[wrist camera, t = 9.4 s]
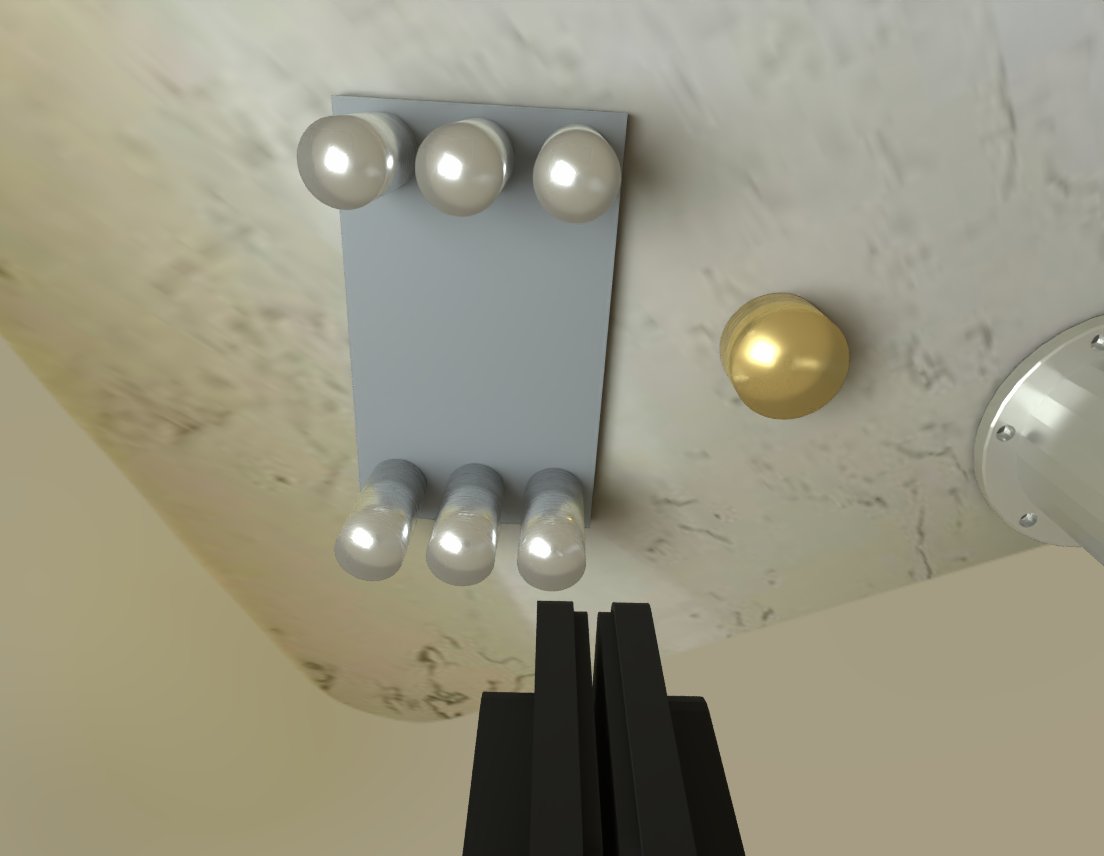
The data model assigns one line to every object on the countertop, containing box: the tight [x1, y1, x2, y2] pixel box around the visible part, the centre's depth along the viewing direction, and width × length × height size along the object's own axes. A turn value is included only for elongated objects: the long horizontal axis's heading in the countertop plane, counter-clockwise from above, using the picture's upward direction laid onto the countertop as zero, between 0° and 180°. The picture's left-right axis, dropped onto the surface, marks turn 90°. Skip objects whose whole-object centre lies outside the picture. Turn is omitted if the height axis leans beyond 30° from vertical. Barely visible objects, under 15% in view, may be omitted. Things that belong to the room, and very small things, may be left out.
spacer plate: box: [331, 95, 628, 528], centre depth 33 cm, size 12×20×1 cm, turn 177°
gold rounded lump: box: [720, 293, 850, 419], centre depth 32 cm, size 5×5×3 cm
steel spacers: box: [297, 112, 621, 591], centre depth 30 cm, size 11×19×6 cm, turn 177°
